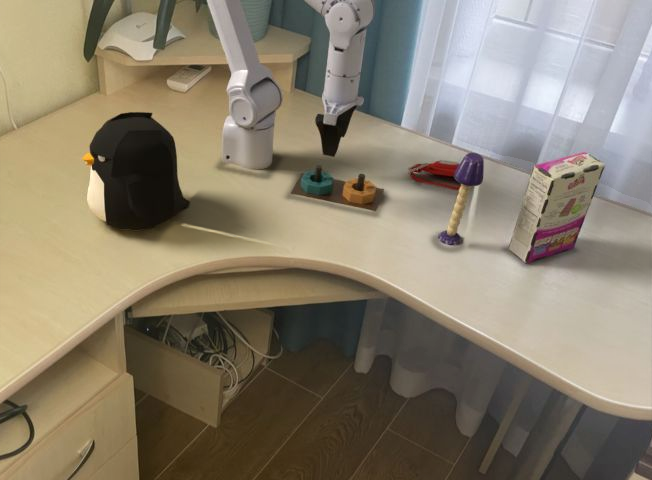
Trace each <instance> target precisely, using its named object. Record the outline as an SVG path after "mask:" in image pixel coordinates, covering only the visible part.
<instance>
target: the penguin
mask: <svg viewBox="0 0 652 480" xmlns="http://www.w3.org/2000/svg"><path fill="white" fill-rule="evenodd" d="M176 147H177V146H176V141H175V138H174V136H173V135H172V134H171V133H170V131H169V130H167V129H166V127H164V126H163V125H162V124H160V122H158V121H157V120H156V119H155V118H153V112H144V111H135V112H134V111H127V112H123V113H119V114H117V115H116V116H113V117H112V118H110V119H108V120H106V121H105V122H104V123H103V125H102V126H101V127H100V128H99V129H98V130H97V131H96V132H95V134H94V135H93V138H92V140H91V142H90V143H89V152H88V153H86V154H85V155H83V156H82V157H81V160H82V161H84V162H85V165H86V166H90V174H89V183H88V188H87V195H86V200H87V205H88V207H89V210H90V212H92V213H93V215H94V216H95V217H96V218H98V219H100V220H102V221H104V223H105V224H106V226H108V227H111V228H113V229H117V230H123V231H132V232H133V231H134V232H136V231H145V230H150V229H154V228H156V227H158V226H160V225H162V224H165V223H167V222H168V221H169V220H171V219H172V218H173V217H175V216H176V215H178V214H179V213H180V212H181V211H183V210H185V209H188V208H190V203H191V201H190V200H188V198H186V197H185V196H184V194H183V191H182V188H181V186H180V182H179V177H178V175H179V174H178V155H177V154H178V153H177V148H176Z"/></svg>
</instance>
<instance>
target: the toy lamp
mask: <svg viewBox="0 0 652 480" xmlns="http://www.w3.org/2000/svg"><path fill="white" fill-rule="evenodd" d="M484 161H485V160H484V157H483V156H482V155H481V154H480V153H476V152H468V153H465V155H464V156H463V158H462V160H461V161H460V163H458V164H459V166H458V168H457V169H456V171H455V173H454V176H453V177H454V180H455V181H456V182H457V183H459V185H461V187H460V189H458V194H457V196H456V201H455V203H454V205H453V210H452V212H451V217H450V219H449V221H448V226H447V228H446V229H445V230H443V231H441V232H440V233H439V234H438V236H437V239H438V241H439V242H440V243H442V244H444V245H447V246H458V245H460V244H461V243H462V237H461V236H460V234H459V233H458V227H459V226H460V224H461V219H462V218H463V214H464V213H463V212H464V211H465V209H466V203H467V202H468V196H469V195H470V192H471V188H472V187H477V186H479V185H481V184H482V183H483V181H484V171H485V162H484Z"/></svg>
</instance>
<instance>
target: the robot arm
mask: <svg viewBox="0 0 652 480" xmlns="http://www.w3.org/2000/svg"><path fill="white" fill-rule="evenodd" d="M303 1H304V2H305V3H306V4H308V5H309V6H310V7H311V8H313V9H314V10H315V11H316V12H317V13H319V14H320V15H321V16H322V17H323V18H324V21H325V25H326V27H327V29H328V31H329V40H328V52H327V62H326V68H325V76H324V77H325V78H324V85H323V86H324V87H323V92H322V93H321V101H322V104H323V105H322V106H323V109H324V114H322V113H317V114H316V116H315V120H314V123H315V126H316V127H317V130H318V132H319V135H320V143H321V150H322V151H321V152H322V155H323V156H327V157H332V158H335V156H336V155H337V152H338V150H339V147H340V143H341V139H342V138H345V137H346V134H347V132H348V129H349V125H350V122H351V120H352V117H353V114H354V112H355V110H356V108H357V107H358V106H359V107H360V106H363V104H364V101H365V98H364V97H363V96H361V95H359V87H360V86H359V85H360V80H361V72H362V65H363V59H364V51H365V46H366V45H365V43H366V35H367V29H368V28H367V26H368V25H370V23H371V22H372V21H373V20H374V17H375V12H376V5H375V1H374V0H303ZM206 3H207V6H208V10H209V12H210V14H211V17H212V21H213V23H214V26H215V29H216V32H217V36H218V38H219V41H220V45H221V47H222V50H223V52H224V55H225V59H226V62H227V65H228V68H229V70H230V73H231V75H230V78H229V81H228V84H227V86H226V94H227V97H228V112H229V115H227V116H226V119H225V121H224V123H223V128H222V134H221V162H222V163H224V164H231V165H234V166H238V167H241V168H243V169H247V170H256V171H257V170H264V169H266V168H268V167H270V166H271V165H272V163H273V154H274V153H273V152H274V136H275V134H274V133H275V122H276V121H275V120H276V112H277V111H278V110H279V109H280V108H281V106H282V105H283V101H284V94H283V90H282V87H281V86H280V85H279V83H278V82H277V81H276V80H275V78H274V76H273V72H272V70H271V69H270V68H268V67H267V66H265V65H263V64H262V63H261V61H260V58H259V55H258V54H259V53H258V52H257V49H256V48H257V47H256V45H255V42H254V39H253V35H252V33H251V30H250V26H249V23H248V20H247V17H246V14H245V11H244V8H243V5H242V1H241V0H206Z"/></svg>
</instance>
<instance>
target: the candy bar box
mask: <svg viewBox="0 0 652 480" xmlns="http://www.w3.org/2000/svg"><path fill="white" fill-rule="evenodd" d="M605 166H606V164H605V163H604V162H602V161H601V160H598V159H597V158H596V157H594V156H592V155H591V154H590V153H588V152H585V151H583V152H579V153H575V154H572V155H571V154H570V155H567V156H564V157H561V158H557V159H553V160H550V161H546V162H542V163H538V164H535V165H533V168H532V171H531V175H530V178H529V181H528V184H527V186H526V187H527V188H526V190H525V194H524V197H523V200H522V204H521V207H520V210H519V212H518V216H517V219H516V222H515V226H514V229H513V232H512V236H511V239H510V241H509V244H508V245H509V246H508V249H507V250H508V251H509V252H511V254H512V255H514V256H516V257H517V258H518V259H519V260H520V261H521V262H523V263H524V264H530V263H534V262H536V261H539V260H542V259H545V258H548V257H551V256H554V255H557V254H560V253H562V252H566V251H569V250H573V249H574V248H575V246H576V243H577V240H578V238H579V235H580V232H581V230H582V228H583V224H584V222H585V219H586V216H587V214H588V211H589V208H590V206H591V204H592V200H593V198H594V196H595V193H596V191H597V188H598V185H599V183H600V181H601V178H602V175H603V172H604V169H605Z"/></svg>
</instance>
